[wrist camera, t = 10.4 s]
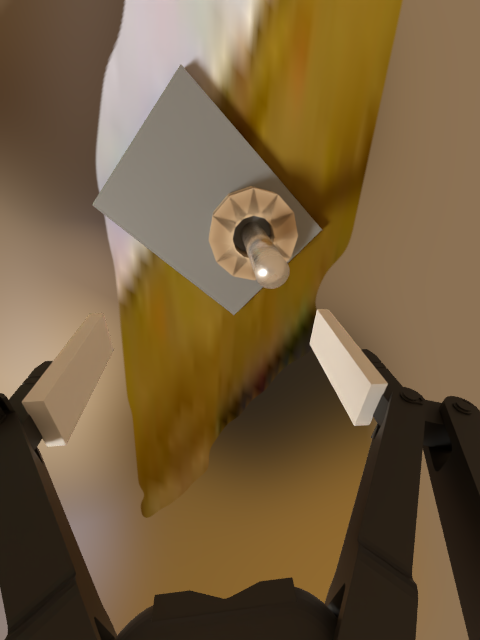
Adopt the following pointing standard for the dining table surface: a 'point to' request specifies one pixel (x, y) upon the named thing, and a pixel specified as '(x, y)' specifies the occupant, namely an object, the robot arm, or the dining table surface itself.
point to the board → (192, 188)
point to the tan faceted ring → (243, 207)
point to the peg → (264, 257)
